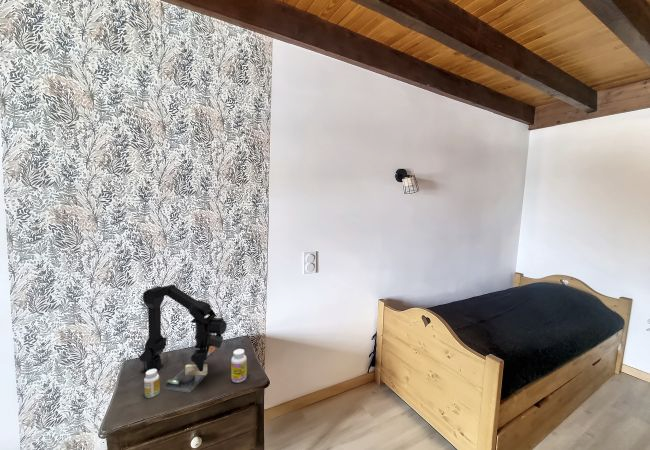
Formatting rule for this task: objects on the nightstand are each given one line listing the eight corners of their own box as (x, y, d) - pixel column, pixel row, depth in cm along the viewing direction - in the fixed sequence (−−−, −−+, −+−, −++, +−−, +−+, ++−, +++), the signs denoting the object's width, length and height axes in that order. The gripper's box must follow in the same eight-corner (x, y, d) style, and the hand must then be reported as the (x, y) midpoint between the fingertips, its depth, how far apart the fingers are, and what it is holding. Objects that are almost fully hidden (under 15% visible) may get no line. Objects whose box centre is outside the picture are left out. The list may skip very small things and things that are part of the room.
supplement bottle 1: (159, 387, 119) (158, 366, 118) (160, 395, 115) (159, 372, 114) (144, 392, 116) (143, 370, 115) (144, 399, 112) (143, 377, 111)
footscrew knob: (174, 383, 119) (173, 370, 119) (182, 373, 126) (181, 361, 126) (203, 383, 120) (203, 370, 119) (209, 373, 127) (209, 360, 126)
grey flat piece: (164, 389, 118) (164, 381, 118) (189, 366, 135) (189, 358, 134) (190, 392, 116) (189, 384, 116) (212, 368, 133) (212, 361, 133)
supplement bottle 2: (231, 384, 122) (230, 356, 120) (231, 375, 128) (231, 348, 127) (246, 381, 123) (246, 354, 122) (246, 373, 130) (246, 346, 129)
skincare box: (208, 355, 144) (208, 333, 143) (201, 354, 145) (200, 332, 144) (215, 349, 150) (215, 328, 149) (208, 348, 151) (207, 327, 150)
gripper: (218, 339, 118) (219, 374, 119) (224, 322, 137) (224, 353, 137) (190, 342, 116) (191, 378, 117) (200, 324, 134) (200, 355, 135)
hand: (203, 365), depth 127 cm, fingers open, 9 cm apart
